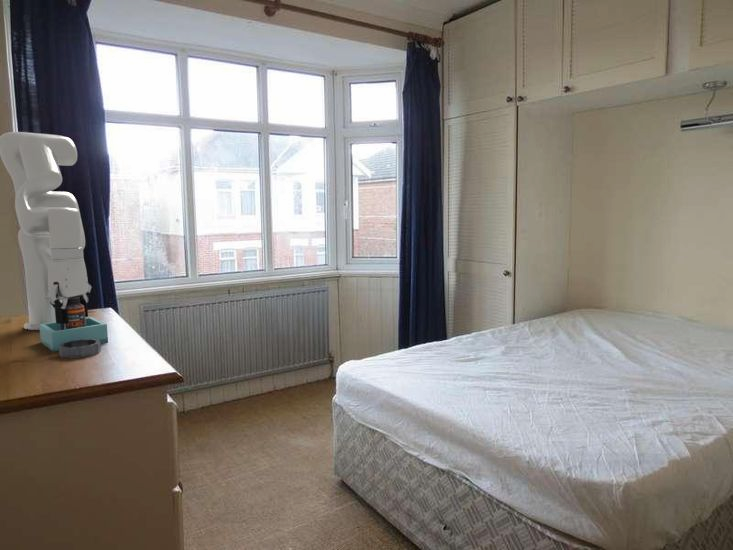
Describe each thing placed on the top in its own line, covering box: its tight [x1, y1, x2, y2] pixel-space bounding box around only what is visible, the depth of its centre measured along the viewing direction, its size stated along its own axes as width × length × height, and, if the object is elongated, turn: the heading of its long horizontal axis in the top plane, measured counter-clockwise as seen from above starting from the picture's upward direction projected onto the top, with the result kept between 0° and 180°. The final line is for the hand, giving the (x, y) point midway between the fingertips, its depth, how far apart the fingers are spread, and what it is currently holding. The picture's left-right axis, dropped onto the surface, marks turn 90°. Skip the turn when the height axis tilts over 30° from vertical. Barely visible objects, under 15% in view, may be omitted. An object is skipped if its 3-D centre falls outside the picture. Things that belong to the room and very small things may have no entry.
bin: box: [39, 316, 109, 352], centre depth 137 cm, size 13×13×5 cm
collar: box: [58, 339, 102, 359], centre depth 127 cm, size 9×9×2 cm
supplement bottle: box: [60, 296, 86, 330], centre depth 137 cm, size 6×6×11 cm
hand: (72, 319), depth 137 cm, fingers open, 7 cm apart
